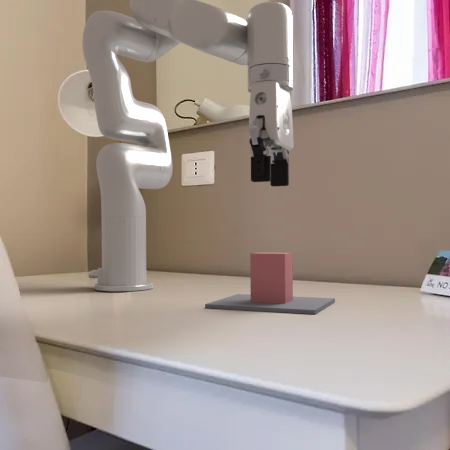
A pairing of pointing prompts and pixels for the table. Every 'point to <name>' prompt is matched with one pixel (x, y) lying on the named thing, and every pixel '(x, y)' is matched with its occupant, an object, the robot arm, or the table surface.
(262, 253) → the pink rectangular block
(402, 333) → the table surface
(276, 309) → the mat
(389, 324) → the table surface
